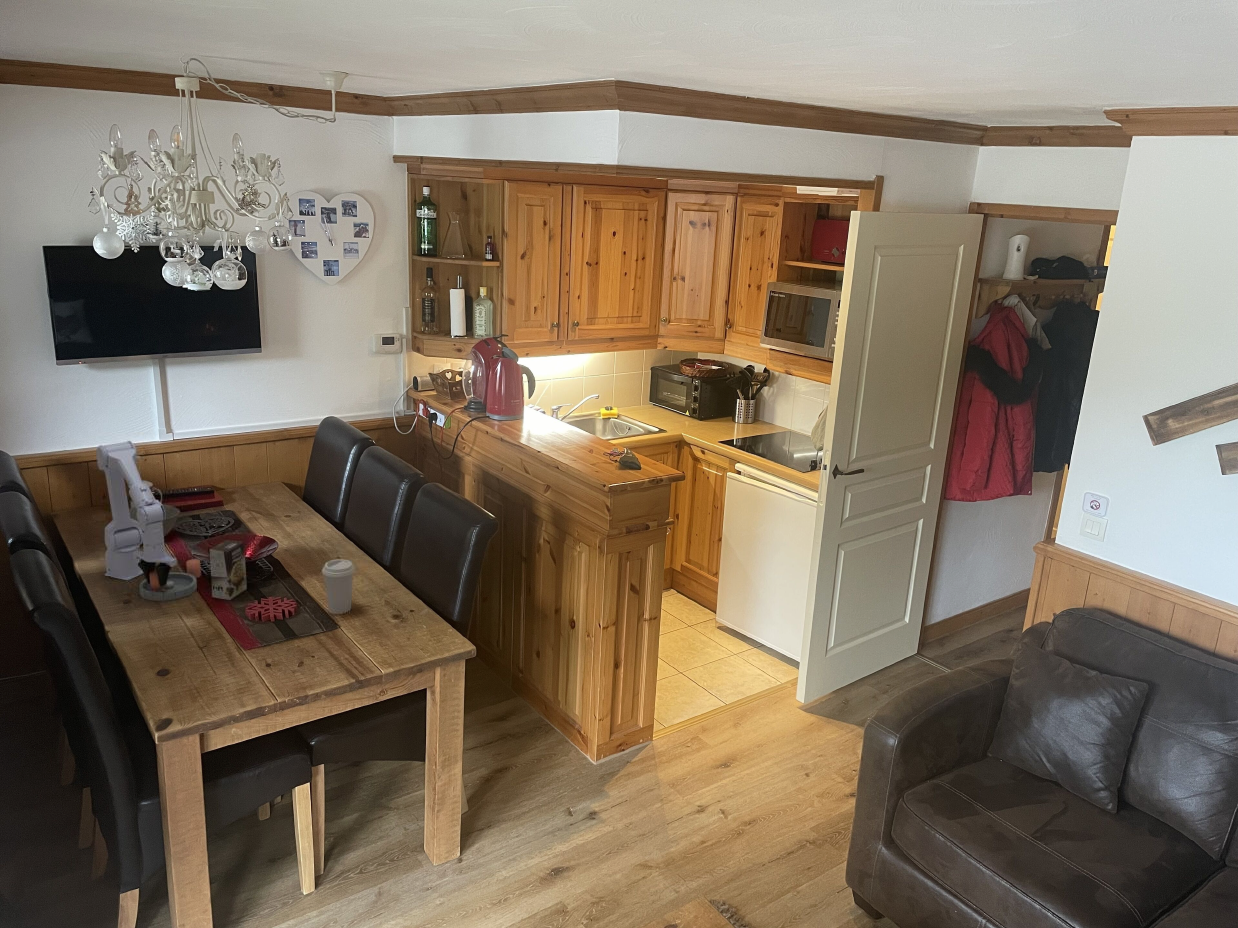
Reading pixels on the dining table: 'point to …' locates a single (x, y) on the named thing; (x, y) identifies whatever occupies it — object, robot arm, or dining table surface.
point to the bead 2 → (194, 567)
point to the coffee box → (228, 569)
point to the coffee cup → (338, 585)
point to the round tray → (170, 588)
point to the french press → (144, 483)
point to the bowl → (170, 517)
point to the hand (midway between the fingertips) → (157, 583)
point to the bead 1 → (155, 581)
